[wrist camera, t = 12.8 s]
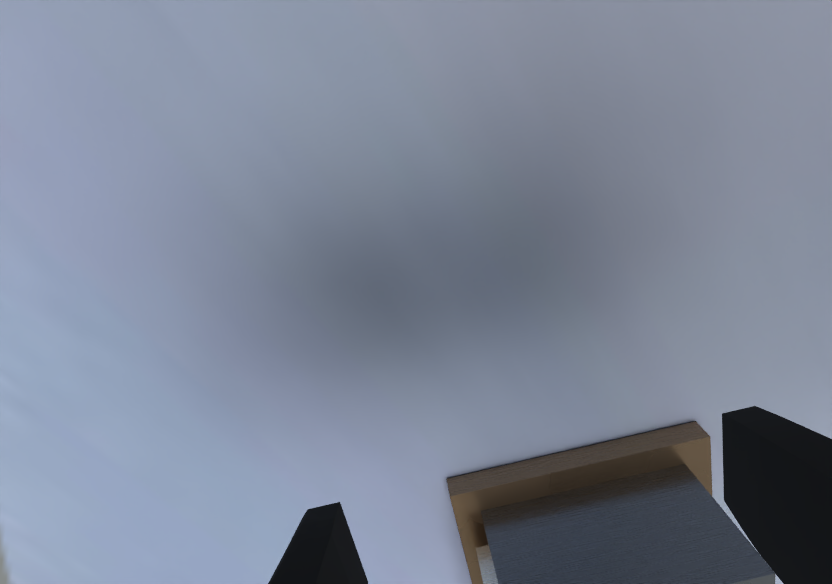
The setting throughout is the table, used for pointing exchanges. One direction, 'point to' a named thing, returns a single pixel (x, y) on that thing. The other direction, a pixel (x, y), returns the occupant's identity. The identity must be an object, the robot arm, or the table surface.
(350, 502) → the table surface
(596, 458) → the mounted unit
